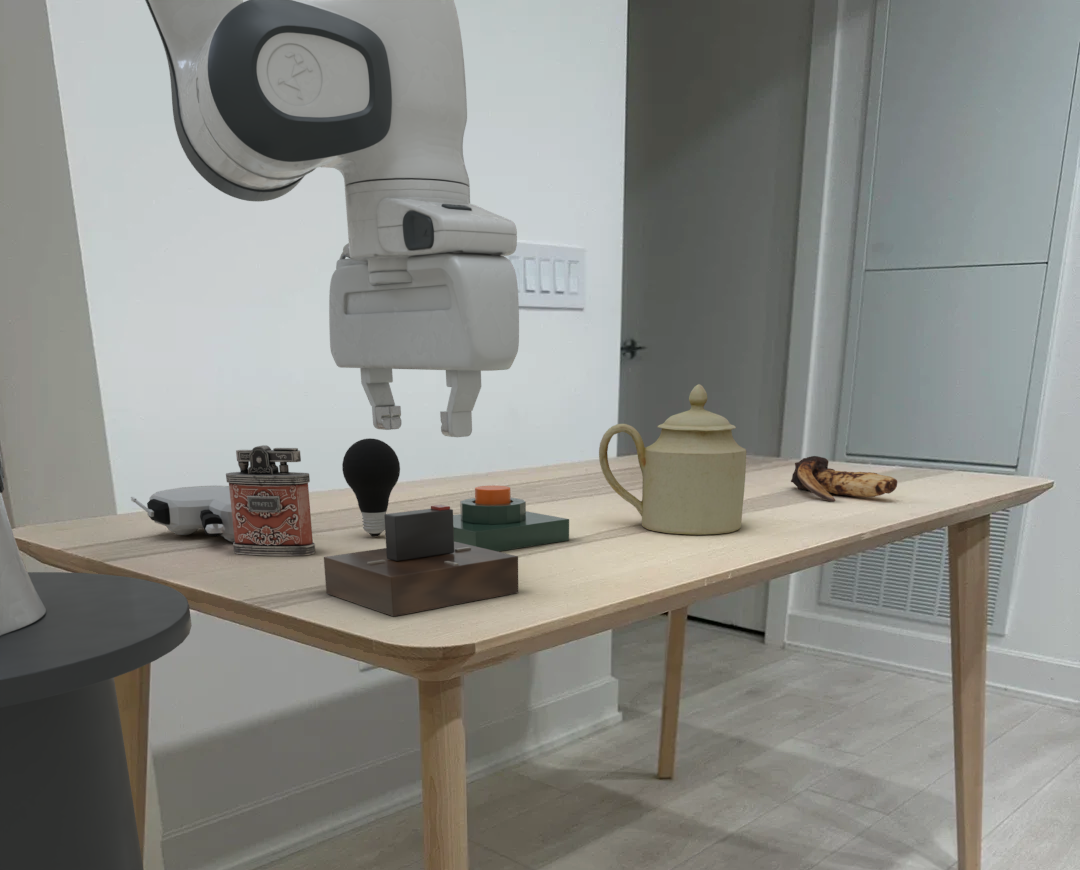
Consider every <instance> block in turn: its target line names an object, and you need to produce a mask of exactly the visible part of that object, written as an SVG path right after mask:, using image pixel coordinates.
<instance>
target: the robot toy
mask: <svg viewBox="0 0 1080 870" xmlns="http://www.w3.org/2000/svg"><path fill="white" fill-rule="evenodd" d="M130 501H131V502H132V503H135V504H136V505H137V506H139V507H140V508H141V509H142V510H143V511H145V512H146V513H147V517H149V519H150V520H151V521H154V523H156V524H158V525H162V526H164V527H166V528H167V529H168V531H170V532H172V533H174V534H175V535H179V536H189V535H192V534H194V533H195V532H197V530H199V529H202V530H203V532H204V533H205V535H206V536H209V537H219V536H221V537H223V538H224V539H225V540H226V541H228V542H230V543H234V542H235V538H234V528H233V519H232V509H231V500H230V490H229V485H217V484H216V485H215V484H214V485H196V486H183V487H182V486H181V487H176V488H175V487H174V488H170V489H164V490H159V491H156V492H154V493H153V494H151V496H150V497H149V500H148V502H147V503H146V506H145V505H144V504H143V503H141V502H140V501H139V500H138V499H137V498H136V497H135V496H131V497H130Z"/></svg>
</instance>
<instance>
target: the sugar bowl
mask: <svg viewBox="0 0 1080 870" xmlns="http://www.w3.org/2000/svg"><path fill="white" fill-rule="evenodd" d="M688 401H689V404H690V409H688V410H685V411H682V412H678V413H676V414H673V415H670V416H669V417H668V418H667V419H665V421H664V422H663V423H661V424H659V425H657V426H656V427H657V428H659V429H661V431H660V434H659V436H658V438H657V439H656V440H655V441H654V442H653V443H652V444H650V445H648V446H645V443H644V440H643V438H642V435H641V434H640V432H639V431H638V430H637V428H635V427H634V426H633V425H630V424H628V423H617V424H615V425H612V426H611V427H609V428H608V429H607V430H606V431H605V432H604V434H603V435H602V438H601V440H600V442H599V448H598V459H599V465H600V468H601V471H602V475H603V476H604V478H605V480H606V482H607V483H608V484H609V486H610V487H611V488H612V490H613V491H614V492H615V493H616V494H617V495H618V496H620V497H621V498H622V499H623V500H624V501H626V502H628V503H629V504H630V505H632V506H633V507H634V508H635V509H636V510H637V513H638V514H639V515H640V516H641V526H642V527H643V528H644V529H647V530H649V531H653V532H659V533H666V534H677V535H690V536H691V535H693V536H700V535H721V534H728V533H729V534H730V533H733V532H736V531H739V530H740V529H741V527H742V519H743V507H744V499H745V498H744V496H745V484H746V472H747V471H746V468H747V467H746V466H747V448H744V447H742V446H741V445H739V444H738V442H736V440H735V439H734V437H733V431H732V430H735V429H737V427H736V425H734V424H731V423H730V421H729V420H728V419H727V418H726V417H725V416H723V415H721V414H718V413H714V412H712V411H709V410H707V409H705V408H704V407H705V405H706V404H707V402H708V393H707V391H706V389H705V388H704V386H703V385H702V384H700V383H698V384H697V385H695V386H694V387H693V388H692V390H691V391H690V393H689V396H688ZM620 433H625V434H628V435H629V436H630V437H631V439H632V441H633V442H634V445H635V449H636V453H637V460H638V465H639V469H640V472H641V476H642V487H641V488H642V490H641V493H642V495H641V500H640V499H638V498H637V497H636V496H635V495H633V494H632V493H631V492H629V491H628V490H627V489H626V488H625V487H624V486H622V484H620V482H619V481H618V480H617V479H616V477H615V476H614V474H613V471H612V470H611V467H610V463H609V458H608V456H609V455H608V451H609V444H610V442H611V440H612V438H613V436H614V435H616V434H620Z"/></svg>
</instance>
